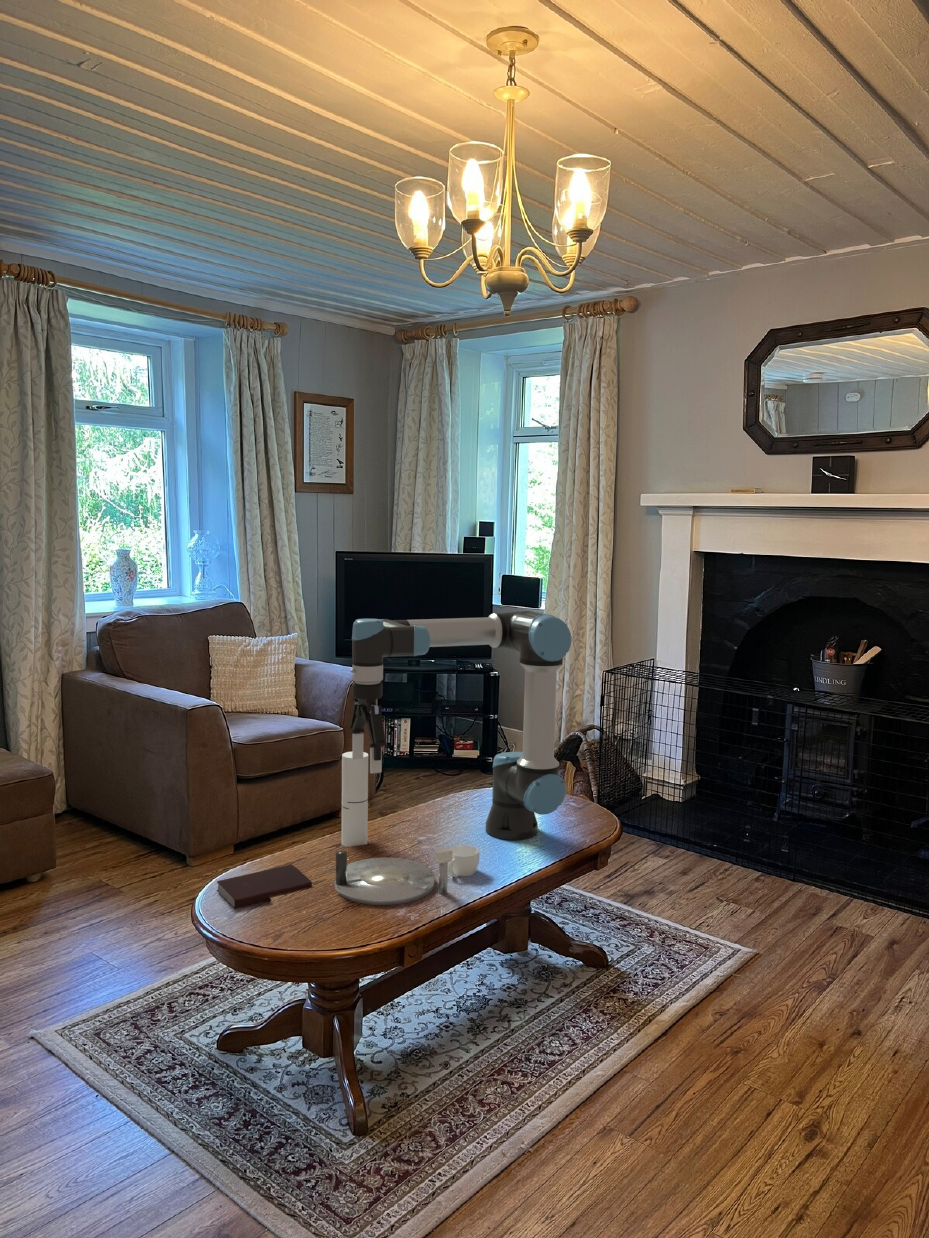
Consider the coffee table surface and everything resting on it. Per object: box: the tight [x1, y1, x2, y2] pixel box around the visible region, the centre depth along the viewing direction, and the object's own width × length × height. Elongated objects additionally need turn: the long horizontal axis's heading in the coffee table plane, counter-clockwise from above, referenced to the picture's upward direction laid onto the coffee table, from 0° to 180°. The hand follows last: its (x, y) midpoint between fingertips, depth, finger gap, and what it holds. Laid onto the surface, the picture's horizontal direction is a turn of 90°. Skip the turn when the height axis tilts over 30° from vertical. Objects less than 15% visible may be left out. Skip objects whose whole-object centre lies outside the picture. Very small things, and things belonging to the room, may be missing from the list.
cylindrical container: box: [341, 751, 369, 848], centre depth 246 cm, size 7×7×25 cm
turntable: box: [334, 850, 435, 906], centre depth 216 cm, size 24×24×10 cm
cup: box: [448, 844, 480, 878], centre depth 224 cm, size 8×10×7 cm
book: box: [215, 864, 313, 910], centre depth 214 cm, size 12×19×3 cm, turn 124°
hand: (366, 765), depth 223 cm, fingers open, 13 cm apart
